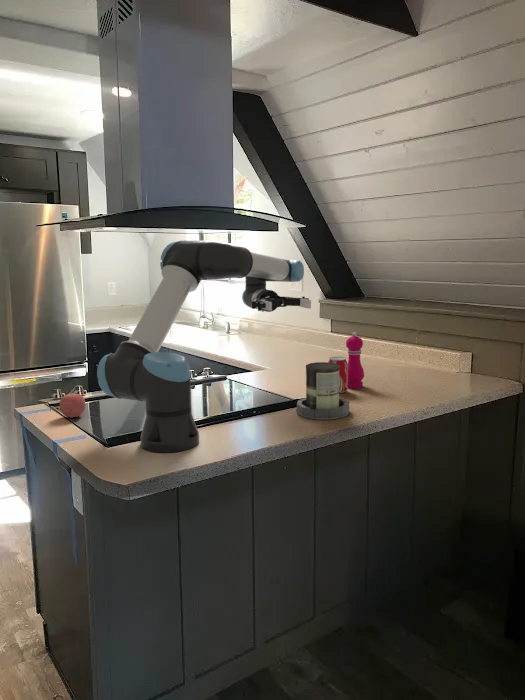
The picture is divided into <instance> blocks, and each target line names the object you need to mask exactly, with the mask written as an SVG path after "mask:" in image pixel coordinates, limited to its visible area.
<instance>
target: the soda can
mask: <svg viewBox="0 0 525 700" xmlns="http://www.w3.org/2000/svg"><path fill="white" fill-rule="evenodd" d="M327 362H328V363H335V364H338V365H340V369H339V394H344V393H345V392H347V391H348V388H347V386H348V361H347V358H346V357H344V356H330V357H329V360H328V361H327Z"/></svg>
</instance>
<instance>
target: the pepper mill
mask: <svg viewBox="0 0 525 700" xmlns="http://www.w3.org/2000/svg"><path fill="white" fill-rule="evenodd" d="M363 345H364V341H363V339H362V338H361V337H359V336H358V333H357V332H356V331H354V332H352V333H351V336H349V337H348V338H347V340H346V342H345V346H346V348H347V353H346V354H348V361H347V363H348V386H347V389H351V390H352V389H354V390H355V389H361V388H363V386H364V382H363V381H362V380H363V379H364V378H365V371H364V367H363V366H362V363H361V354H362V348H363Z"/></svg>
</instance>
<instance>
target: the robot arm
mask: <svg viewBox="0 0 525 700" xmlns="http://www.w3.org/2000/svg"><path fill="white" fill-rule="evenodd" d="M160 260H161V262H160V263H159V265H160V270H161V276H162V279H161V281H160V283H159V285H158V286H157V289H156V290H155V292H154V294H153V296H152V298H151V299H150V301H149V303H148V304H147V306H146V308H145V310H144V312H143V314H142V315H141V317H140V320H139V321H138V323H137V324H136V326H135V328H134V330H133V332H132V334H131V336H130V337H129V339H128V340H125V341H122V342H120V344H119V345H118V347H117V348H116V351H115V352H114V353H112V352H110V353H109V354H106V355H104V356H102V358H101V359H100V360H99V362H98V365H97V370H96V371H97V372H96V377H97V383H98V385H99V387H100V389H101V391H102V392H103V393H104V394H105V395H106V396H107V395H108V396H110V397H114V398H116V399H120V400H121V399H123V400H124V399H125V400H131V401H139V402H143V403H144V402H145V419H144V423H143V427H142V430H141V434H140V447H141V448H142V449H143V450H146V451H149V452H154V453H175V452H181V451H185V450H186V451H187V450H189V449H191V448H194V447H196V446H197V445H198V444H199V443H200V433H199V430H198V427H197V425H196V422H195V419H194V416H193V414H192V392H191V391H192V390H191V376H192V373H191V370H190V362H189V360H188V358H186V357H185V356H183V355H181V354H179V353H175V352H174V353H173V352H167V351H166V352H163V351H159V350H160V349H161V347H162V345H163V343H164V341H165V339H166V338H167V336H168V333H169V331H170V329H171V328H172V326H173V324H174V322H175V321H176V318H177V316H178V314H179V312H180V310H181V309H182V307H183V304H184V303H185V301H186V299H187V297H188V294H189V293H191V292H194V291H196V290H197V289H198V287H199V285H200V283H201V281H203V280H205V281H206V280H207V281H209V280H211V281H214V280H223V279H243V278H245V285H244V286H245V289H244V291H243V293H242V295H241V299H242V303H243V304H245V306H247V307H249V308H251V309H253V310H254V309H256V310H257V311H258V312H262V313H264V312H267V313H270V312H274V311H275V310H276V309H277V308H285V307H299V308H305V309H310V310H311V309H312V299H309V297H305V296H301V297H292V296H280V295H279V294H278V293H277V292H276V291H274V290H272V289H267V282H287V283H296V282H297V283H298V282H300V281H302V280H303V277H304V275H305V274H304V273H305V268H304V264H303V262H302V261H301V260H299V259H298V260H297V259H289V260H288V259H283V258H280V257H275V256H270V255H265V254H262V253H257V252H252V251H250V250H249V249H248V248H247V247H244V246H241V245H237V244H234V243H229V242H225V241H221V240H215V239H214V240H213V239H210V240H209V239H208V240H206V239H204V240H184V239H183V240H178V241H173V242H170V243H168V244H167V245H166V246H165V247H164V249H163V250H162V252H161V255H160Z"/></svg>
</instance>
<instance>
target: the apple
mask: <svg viewBox="0 0 525 700" xmlns="http://www.w3.org/2000/svg"><path fill="white" fill-rule="evenodd" d="M59 410H60V412H61V413H62V414H63V415H64V416H65V417H66V418H69V417H70V418H71V419H74V418H73V417H76V418H78V417H80V416H81V415H82V414H84V412H85V410H86V399H85V398H84V396H83V395H82V394H79V393H73V392H71V393H67V394H66V395H63V396H62V397H61V398H60V401H59Z"/></svg>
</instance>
